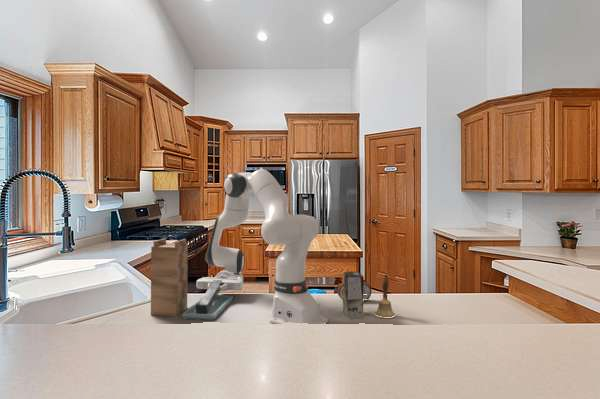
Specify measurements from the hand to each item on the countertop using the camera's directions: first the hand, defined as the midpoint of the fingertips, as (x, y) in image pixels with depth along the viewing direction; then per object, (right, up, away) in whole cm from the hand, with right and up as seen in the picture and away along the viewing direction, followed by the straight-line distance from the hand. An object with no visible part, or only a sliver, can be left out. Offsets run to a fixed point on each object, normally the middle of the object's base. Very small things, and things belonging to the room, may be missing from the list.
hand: (214, 288), depth 143 cm
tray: (-1, -7, -6) cm, 9 cm away
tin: (+60, -8, +9) cm, 61 cm away
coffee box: (+57, -8, -9) cm, 58 cm away
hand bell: (+69, -8, -9) cm, 71 cm away
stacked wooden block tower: (-15, -6, -9) cm, 19 cm away
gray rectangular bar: (0, -3, -4) cm, 5 cm away
